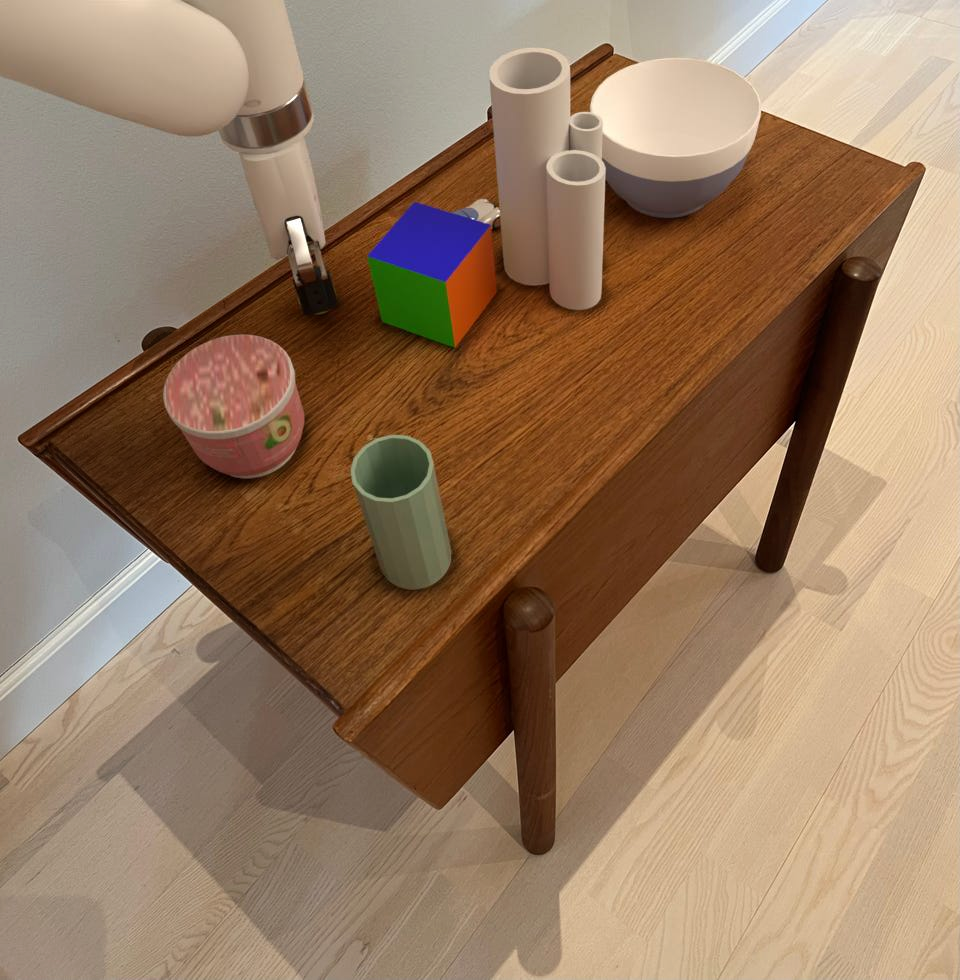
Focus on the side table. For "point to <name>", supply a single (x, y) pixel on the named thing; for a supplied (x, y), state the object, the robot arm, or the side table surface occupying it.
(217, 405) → the container
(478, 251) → the cube
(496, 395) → the side table surface
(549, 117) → the vase
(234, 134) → the robot arm
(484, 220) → the toy car
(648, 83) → the bowl
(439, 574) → the tube
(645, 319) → the side table surface
